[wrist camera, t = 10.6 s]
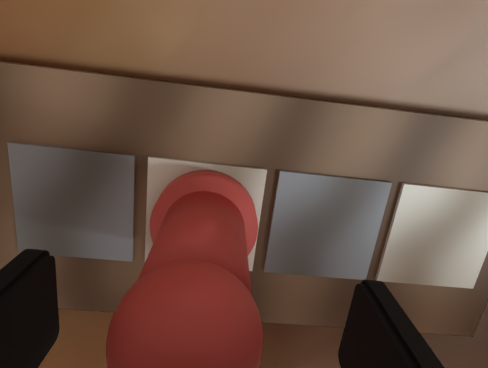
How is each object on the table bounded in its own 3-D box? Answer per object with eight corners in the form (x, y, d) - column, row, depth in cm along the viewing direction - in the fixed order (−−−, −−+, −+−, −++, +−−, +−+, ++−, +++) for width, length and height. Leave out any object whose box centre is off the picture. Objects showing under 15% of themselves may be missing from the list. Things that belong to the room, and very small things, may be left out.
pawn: (262, 175, 16) (309, 322, 6) (249, 265, 17) (273, 487, 8) (156, 164, 15) (49, 305, 6) (153, 257, 17) (63, 482, 8)
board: (535, 126, 17) (562, 131, 16) (459, 321, 21) (475, 339, 19) (-12, 59, 15) (-36, 58, 13) (14, 290, 19) (-3, 307, 17)
